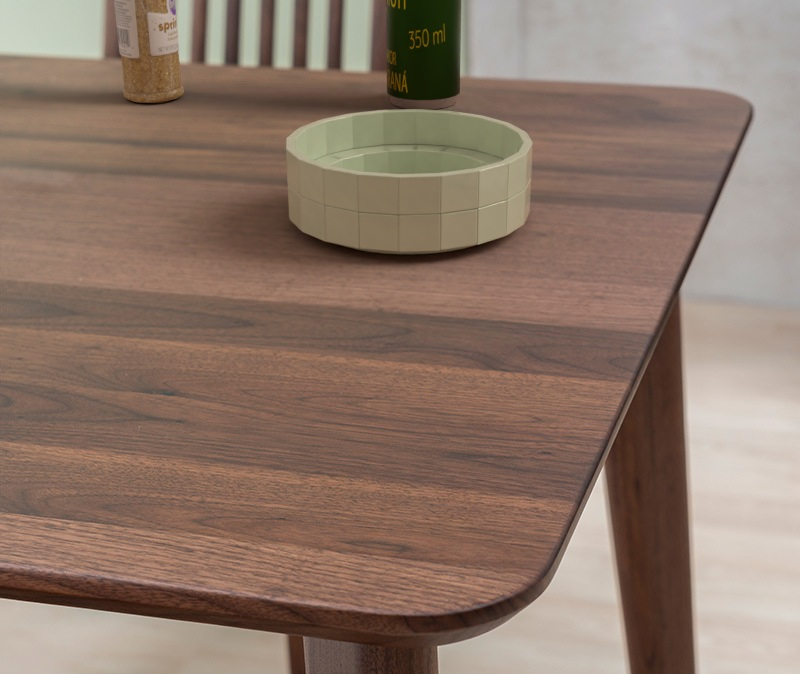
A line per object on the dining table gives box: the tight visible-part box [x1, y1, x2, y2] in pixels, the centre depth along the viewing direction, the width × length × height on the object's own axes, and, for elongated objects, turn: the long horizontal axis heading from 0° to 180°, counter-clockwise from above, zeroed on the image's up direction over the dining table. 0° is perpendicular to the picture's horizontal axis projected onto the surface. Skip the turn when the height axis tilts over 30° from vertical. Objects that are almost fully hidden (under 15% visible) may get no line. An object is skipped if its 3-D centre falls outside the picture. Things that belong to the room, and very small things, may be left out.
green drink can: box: [385, 0, 462, 110], centre depth 90 cm, size 5×5×12 cm
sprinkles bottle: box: [113, 0, 185, 104], centre depth 91 cm, size 5×5×13 cm
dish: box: [285, 108, 534, 255], centre depth 68 cm, size 13×13×4 cm
